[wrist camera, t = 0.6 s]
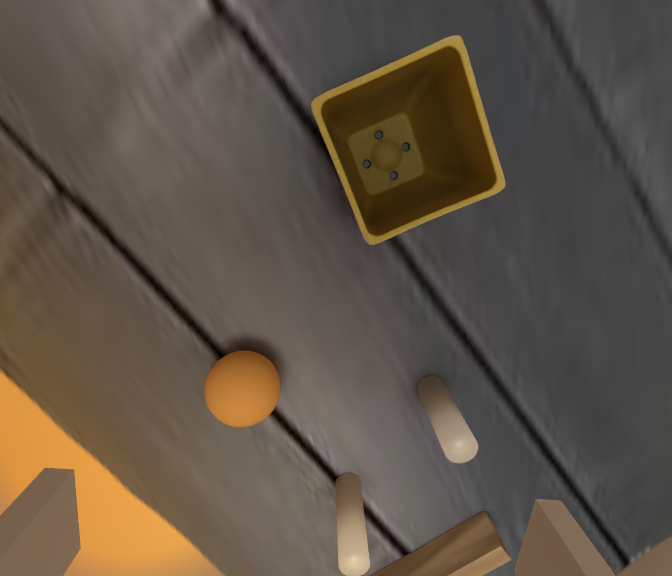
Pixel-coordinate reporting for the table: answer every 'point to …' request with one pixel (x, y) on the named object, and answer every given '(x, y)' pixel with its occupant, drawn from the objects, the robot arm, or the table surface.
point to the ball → (242, 388)
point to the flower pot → (410, 140)
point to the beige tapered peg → (447, 420)
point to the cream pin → (351, 526)
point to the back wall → (455, 552)
